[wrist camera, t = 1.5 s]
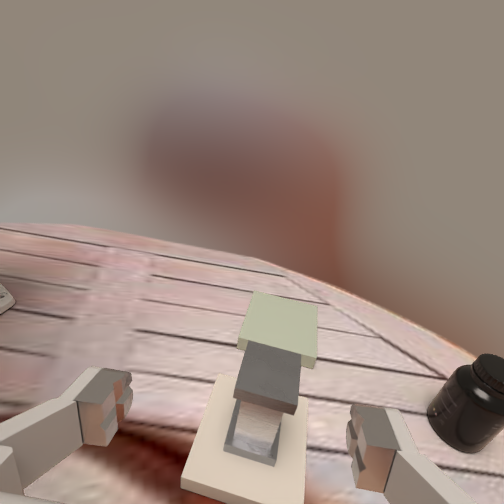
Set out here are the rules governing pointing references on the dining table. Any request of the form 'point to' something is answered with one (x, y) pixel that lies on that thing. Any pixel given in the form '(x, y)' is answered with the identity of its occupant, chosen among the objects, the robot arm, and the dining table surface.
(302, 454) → the stand
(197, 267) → the dining table surface
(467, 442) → the supplement bottle
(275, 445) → the post
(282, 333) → the stand
